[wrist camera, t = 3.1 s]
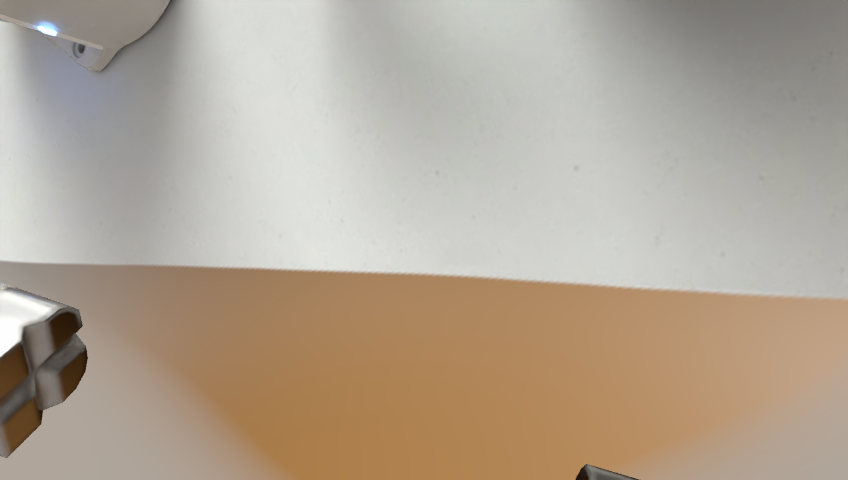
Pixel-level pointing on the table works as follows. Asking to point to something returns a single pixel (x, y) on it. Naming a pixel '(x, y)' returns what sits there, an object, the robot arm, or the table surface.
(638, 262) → the table surface
